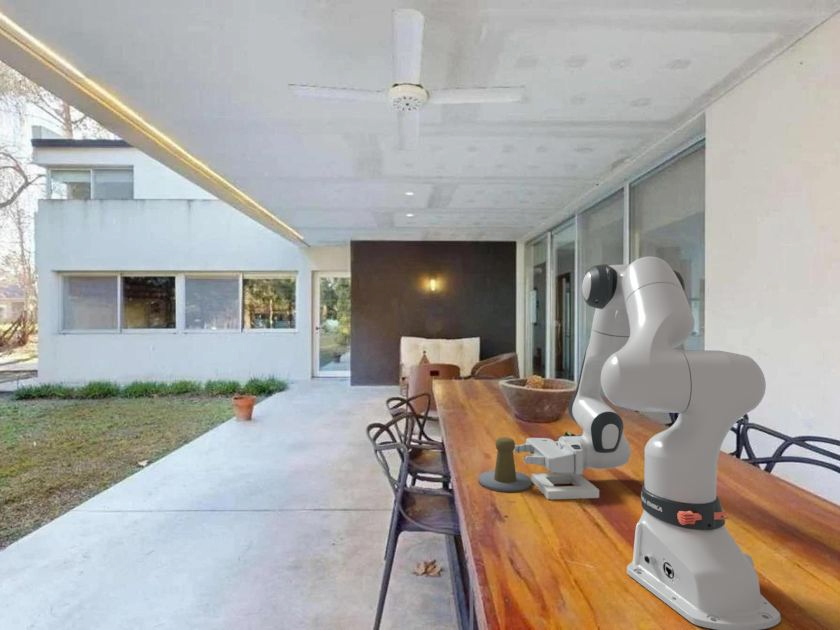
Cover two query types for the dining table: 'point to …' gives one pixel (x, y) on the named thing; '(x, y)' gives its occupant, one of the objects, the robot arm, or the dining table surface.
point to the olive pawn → (505, 461)
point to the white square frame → (577, 491)
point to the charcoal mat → (490, 483)
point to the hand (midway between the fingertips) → (519, 454)
